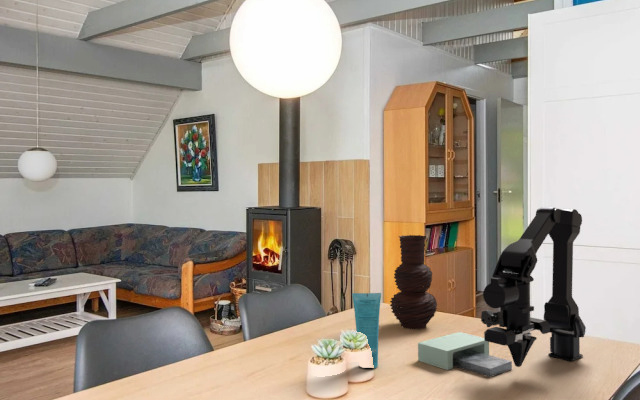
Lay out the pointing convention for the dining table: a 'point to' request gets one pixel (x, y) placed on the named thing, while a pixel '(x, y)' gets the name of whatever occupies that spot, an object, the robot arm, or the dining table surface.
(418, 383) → the dining table surface
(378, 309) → the tube
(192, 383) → the dining table surface
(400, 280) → the vase
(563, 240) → the robot arm
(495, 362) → the grey flat block
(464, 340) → the pale mint green box
